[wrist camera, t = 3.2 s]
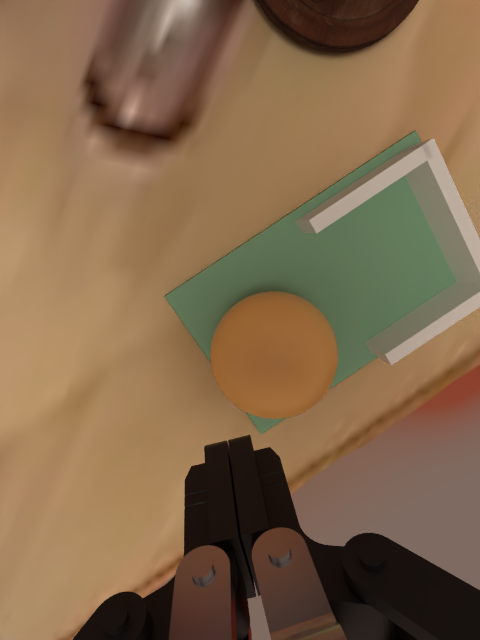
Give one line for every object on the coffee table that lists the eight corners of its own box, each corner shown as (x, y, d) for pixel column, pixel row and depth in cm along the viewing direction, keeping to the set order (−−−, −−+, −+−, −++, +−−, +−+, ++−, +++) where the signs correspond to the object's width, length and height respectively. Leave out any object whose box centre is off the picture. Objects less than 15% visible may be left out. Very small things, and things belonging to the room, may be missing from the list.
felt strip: (260, 432, 41) (261, 434, 40) (164, 295, 37) (164, 296, 36) (484, 283, 41) (487, 284, 40) (413, 131, 37) (415, 130, 36)
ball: (244, 410, 39) (266, 469, 30) (184, 324, 37) (186, 358, 27) (333, 351, 39) (384, 390, 30) (279, 261, 37) (315, 272, 27)
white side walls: (370, 352, 40) (391, 365, 36) (295, 221, 36) (309, 220, 33) (472, 285, 40) (503, 290, 36) (406, 147, 37) (433, 137, 33)
